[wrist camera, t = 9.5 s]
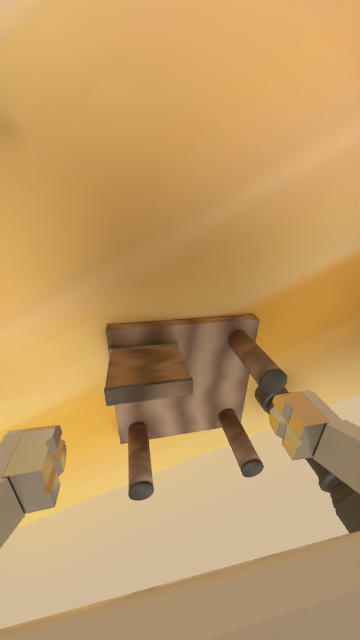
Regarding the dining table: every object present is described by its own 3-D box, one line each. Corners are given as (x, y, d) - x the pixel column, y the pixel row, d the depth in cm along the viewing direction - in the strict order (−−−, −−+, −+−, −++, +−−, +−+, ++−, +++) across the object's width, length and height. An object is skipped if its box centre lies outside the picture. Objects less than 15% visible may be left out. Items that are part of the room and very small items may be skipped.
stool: (253, 314, 42) (304, 357, 30) (236, 417, 53) (268, 478, 41) (106, 324, 37) (98, 380, 25) (120, 435, 48) (119, 511, 36)
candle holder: (262, 406, 53) (360, 549, 31) (249, 391, 50) (347, 537, 28) (285, 389, 52) (403, 524, 30) (274, 374, 49) (393, 510, 27)
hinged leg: (176, 340, 38) (194, 379, 28) (176, 352, 39) (193, 394, 29) (109, 346, 36) (102, 390, 26) (111, 358, 37) (104, 406, 27)
